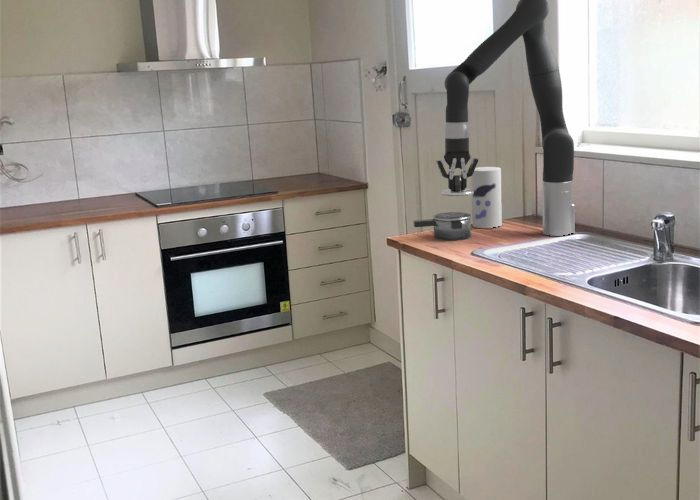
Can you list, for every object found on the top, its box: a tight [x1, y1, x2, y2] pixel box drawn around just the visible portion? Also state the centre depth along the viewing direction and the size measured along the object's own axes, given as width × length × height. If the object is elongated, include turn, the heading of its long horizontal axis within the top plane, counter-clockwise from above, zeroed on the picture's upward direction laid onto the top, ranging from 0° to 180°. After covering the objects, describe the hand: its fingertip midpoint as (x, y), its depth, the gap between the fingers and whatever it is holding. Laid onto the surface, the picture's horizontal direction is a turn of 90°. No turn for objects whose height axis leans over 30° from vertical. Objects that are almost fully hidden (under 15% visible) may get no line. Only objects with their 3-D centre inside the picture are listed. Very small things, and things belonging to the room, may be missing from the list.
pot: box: [413, 211, 472, 242], centre depth 254 cm, size 19×14×7 cm
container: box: [470, 166, 503, 229], centre depth 268 cm, size 10×10×20 cm
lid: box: [440, 174, 474, 197], centre depth 250 cm, size 10×10×6 cm
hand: (457, 190), depth 251 cm, fingers closed on lid, 3 cm apart
